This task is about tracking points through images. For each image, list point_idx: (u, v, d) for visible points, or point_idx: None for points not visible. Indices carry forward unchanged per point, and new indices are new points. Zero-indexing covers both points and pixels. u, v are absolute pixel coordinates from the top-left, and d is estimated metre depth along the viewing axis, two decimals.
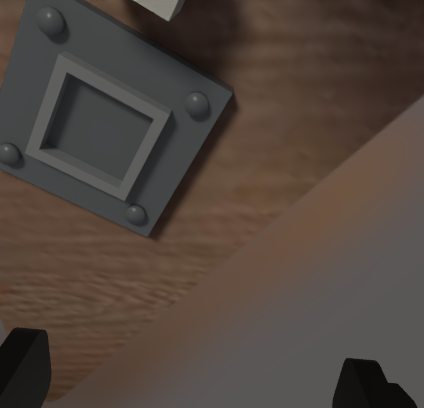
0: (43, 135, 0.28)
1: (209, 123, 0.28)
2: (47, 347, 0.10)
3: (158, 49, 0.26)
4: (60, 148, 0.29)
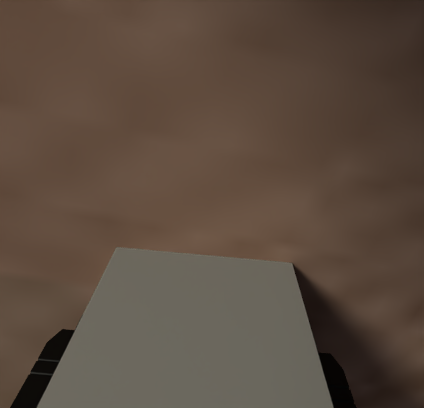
0: None
1: None
2: None
3: None
4: None
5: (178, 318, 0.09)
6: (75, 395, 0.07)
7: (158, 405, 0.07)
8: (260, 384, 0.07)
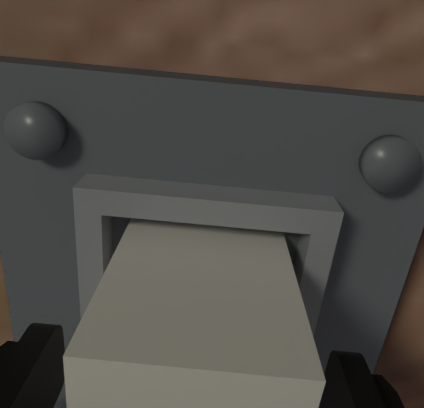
0: None
1: None
2: (62, 342, 0.11)
3: (267, 87, 0.11)
4: None
5: (186, 270, 0.10)
6: (107, 319, 0.08)
7: (173, 327, 0.08)
8: (254, 316, 0.09)
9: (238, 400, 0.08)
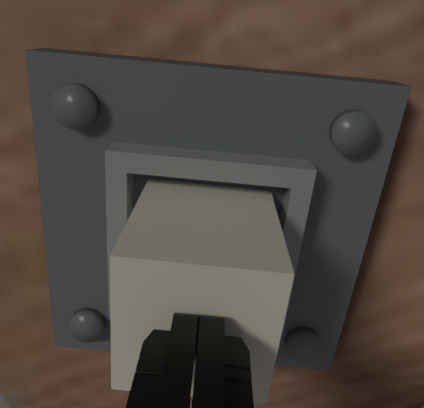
0: None
1: (383, 155, 0.15)
2: None
3: (256, 71, 0.14)
4: None
5: (194, 211, 0.14)
6: (137, 237, 0.12)
7: (186, 243, 0.12)
8: (245, 238, 0.12)
9: (233, 290, 0.11)
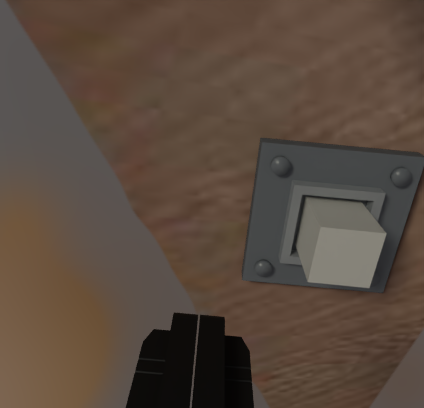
0: (291, 244, 0.36)
1: (413, 186, 0.34)
2: None
3: (359, 151, 0.33)
4: None
5: (336, 211, 0.33)
6: (324, 221, 0.31)
7: (342, 223, 0.31)
8: (362, 221, 0.31)
9: (363, 239, 0.30)
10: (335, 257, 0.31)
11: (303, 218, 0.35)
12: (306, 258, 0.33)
